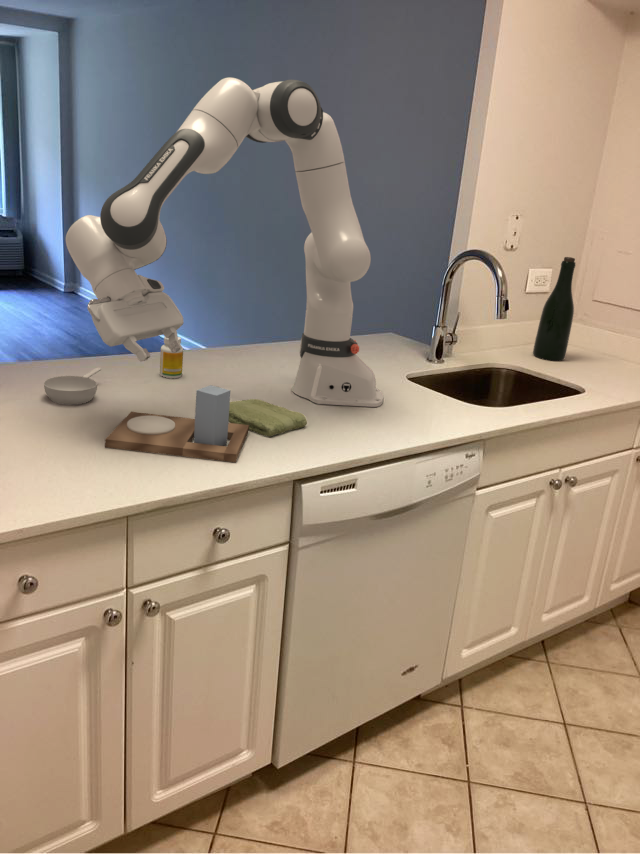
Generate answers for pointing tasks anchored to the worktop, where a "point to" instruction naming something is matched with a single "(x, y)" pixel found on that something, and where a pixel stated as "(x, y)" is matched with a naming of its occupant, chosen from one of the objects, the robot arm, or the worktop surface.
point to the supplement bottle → (170, 361)
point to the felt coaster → (151, 425)
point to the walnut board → (177, 440)
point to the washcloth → (265, 417)
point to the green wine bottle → (557, 316)
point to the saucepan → (71, 388)
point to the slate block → (212, 415)
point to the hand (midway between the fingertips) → (162, 354)
